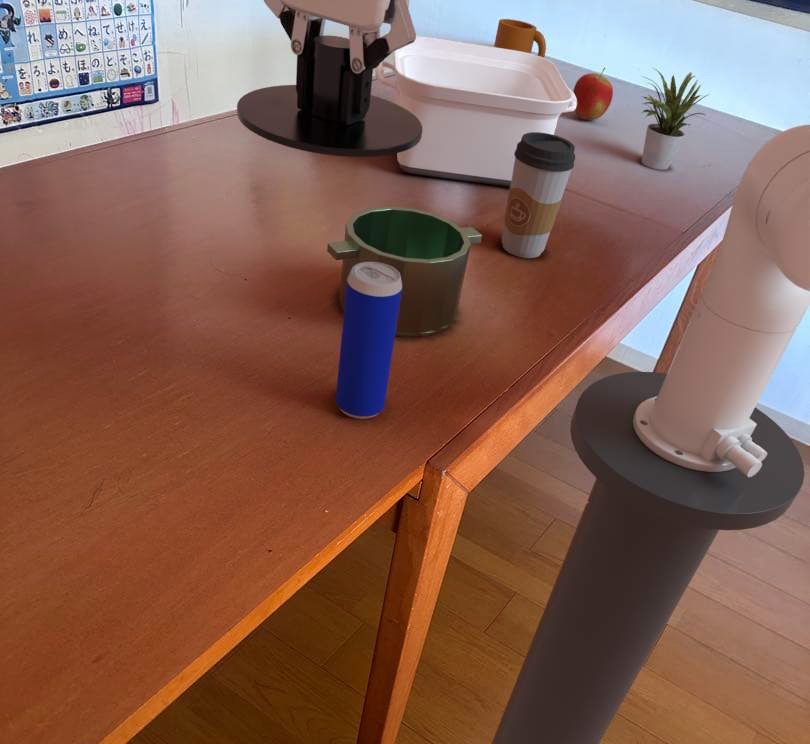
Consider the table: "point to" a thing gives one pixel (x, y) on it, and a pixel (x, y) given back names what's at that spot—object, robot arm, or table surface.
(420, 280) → the cooker pot
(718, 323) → the robot arm
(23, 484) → the table surface
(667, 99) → the house plant
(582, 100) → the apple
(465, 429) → the table surface
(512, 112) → the white storage tub
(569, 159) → the coffee cup
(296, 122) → the lid
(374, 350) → the beverage can
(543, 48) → the mug
